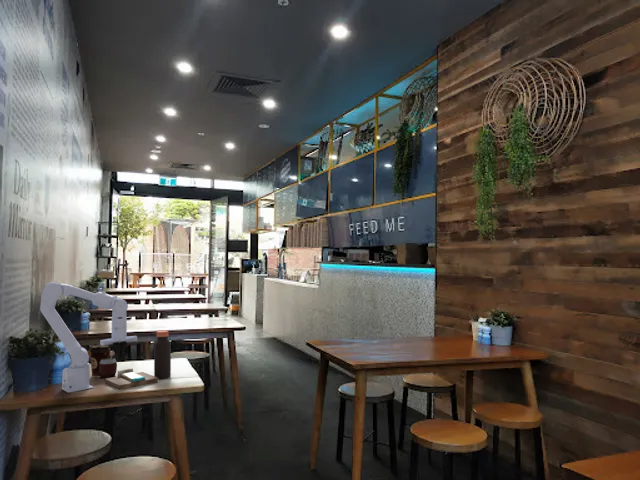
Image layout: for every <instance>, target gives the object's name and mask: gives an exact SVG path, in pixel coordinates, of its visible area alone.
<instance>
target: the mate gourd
mask: <svg viewBox="0 0 640 480" xmlns="http://www.w3.org/2000/svg"><path fill="white" fill-rule="evenodd" d="M114 355H115V353H114V350H113V349H112V353H111V355H110V357H109V358H107V359H102V360H101V361H100V364H99V373H100V376H101V377H99V379H106V378H112V377H117V376H116V375H117V374H116V373H117V372H118V370H117V369H118V368H117V367H118V364H117V363H118V361H116V358H115V357H114Z"/></svg>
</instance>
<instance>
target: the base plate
mask: <svg viewBox="0 0 640 480" xmlns="http://www.w3.org/2000/svg"><path fill="white" fill-rule="evenodd" d="M128 372H133V373H135V374H138V375H140V376H144V377H145V380H140V381H135V382H133V381H132V380H130V379H128V378H125V377H123V376H121V374H122V373H128ZM104 381H105V382H104V383H105V385H106V386H107V385H108V386H109V387H111V388H113V389H115V390H118V391H123V390H129V389H134V388H140V387H142V386H143V387H144V386H147V385H153V384H157V383H159V379H158V378H157V377H155V376H154V375H151V374H149V373H147V372H143V371H140V372H134V368H133V367H132V368H131V367H130V368H125V369H124V368H123V369H119V370H117V376H116V377H112V378H104Z"/></svg>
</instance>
